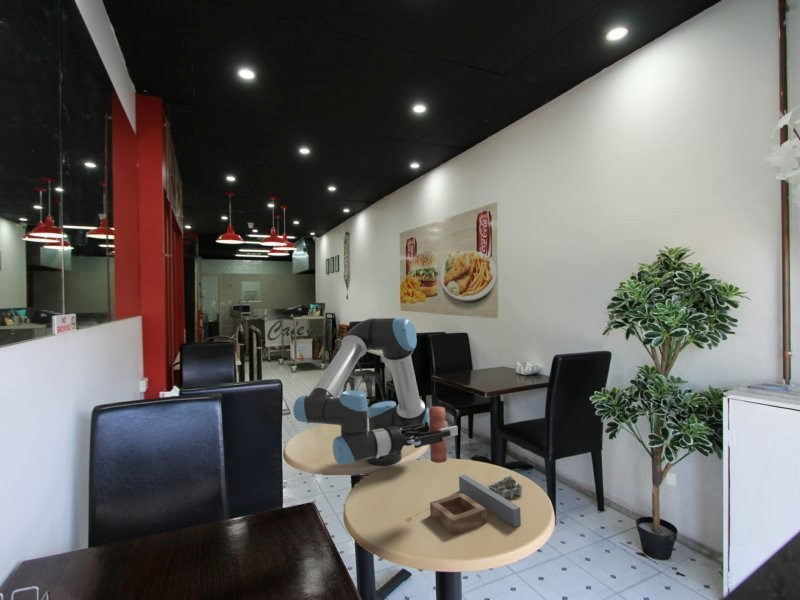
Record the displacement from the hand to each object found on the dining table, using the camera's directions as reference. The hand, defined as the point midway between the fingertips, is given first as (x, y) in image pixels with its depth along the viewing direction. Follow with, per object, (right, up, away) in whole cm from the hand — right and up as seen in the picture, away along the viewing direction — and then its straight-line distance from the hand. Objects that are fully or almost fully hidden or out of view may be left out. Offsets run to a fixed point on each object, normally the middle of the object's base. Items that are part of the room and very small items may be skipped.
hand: (451, 428), depth 127 cm
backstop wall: (+11, -24, -1) cm, 27 cm away
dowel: (-4, -9, -2) cm, 10 cm away
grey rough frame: (+19, -25, +7) cm, 32 cm away
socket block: (+1, -25, -8) cm, 26 cm away
